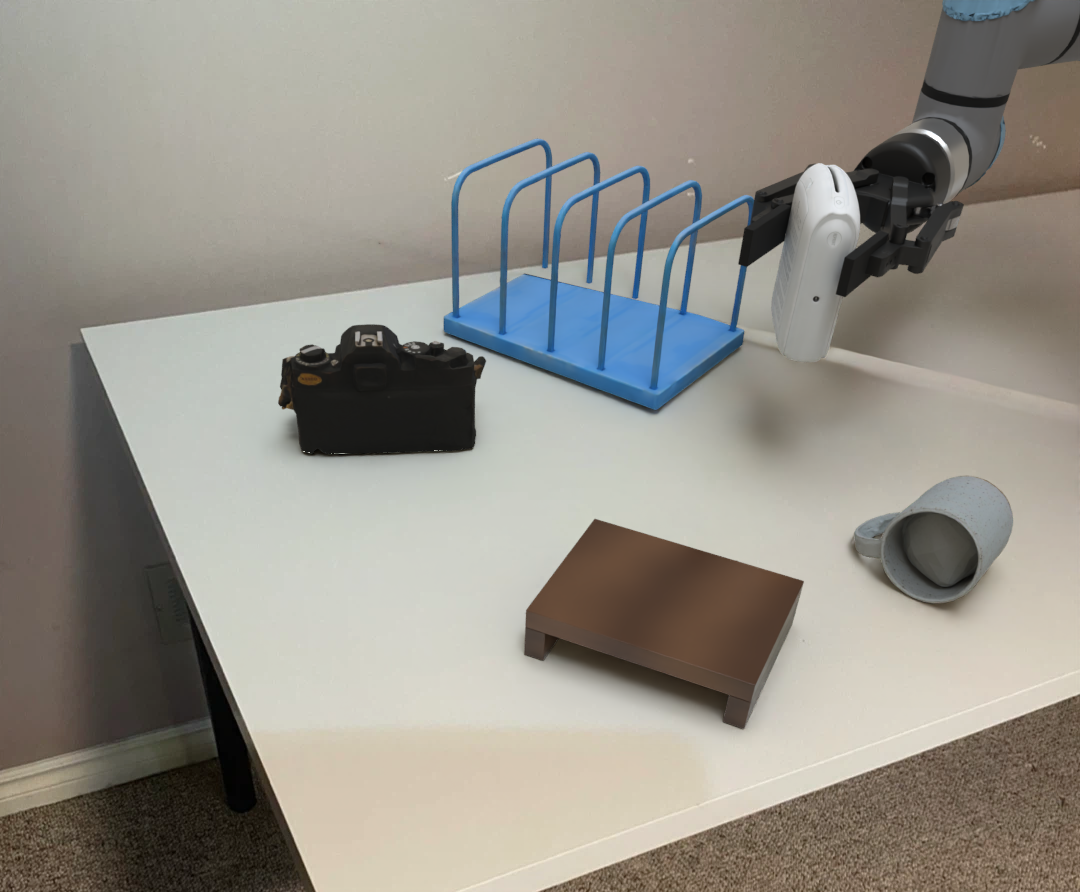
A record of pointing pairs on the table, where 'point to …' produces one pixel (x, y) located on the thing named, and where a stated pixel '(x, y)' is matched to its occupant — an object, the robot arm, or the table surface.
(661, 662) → the shelf
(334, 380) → the film camera
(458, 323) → the file sorter
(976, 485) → the ceramic mug
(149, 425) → the table surface
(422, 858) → the table surface
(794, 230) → the photo printer
